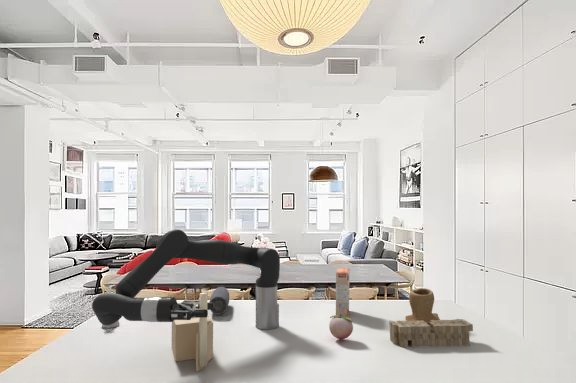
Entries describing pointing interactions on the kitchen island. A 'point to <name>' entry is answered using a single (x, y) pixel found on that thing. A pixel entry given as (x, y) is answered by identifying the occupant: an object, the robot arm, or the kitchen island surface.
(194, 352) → the brown carton
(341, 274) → the cracker box
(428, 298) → the stone cup
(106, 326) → the flask
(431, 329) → the block tower
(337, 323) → the decorative fruit
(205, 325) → the beige l-shaped piece
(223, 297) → the bluetooth speaker
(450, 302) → the kitchen island surface
